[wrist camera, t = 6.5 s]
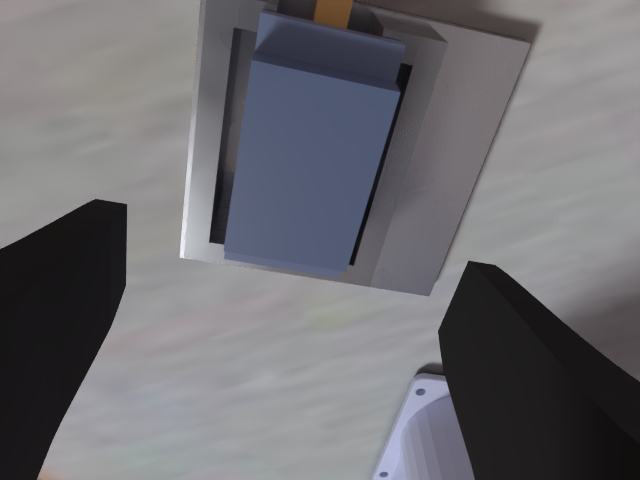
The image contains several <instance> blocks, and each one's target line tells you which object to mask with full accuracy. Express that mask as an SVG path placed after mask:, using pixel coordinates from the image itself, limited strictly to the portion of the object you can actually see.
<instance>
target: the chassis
mask: <svg viewBox="0 0 640 480" xmlns="http://www.w3.org/2000/svg"><path fill="white" fill-rule="evenodd" d="M316 1H317V0H201V3H200V15H199V27H198V40H197V52H196V64H195V76H194V89H193V101H192V113H191V125H190V138H189V150H188V162H187V175H186V187H185V199H184V211H183V224H182V236H181V248H180V257H182V258H188V259H195V260H201V261H208V262H214V263H220V264H227V265H233V266H239V267H246V268H252V269H259V270H265V271H271V272H278V273H284V274H290V275H297V276H303V277H310V278H316V279H322V280H329V281H335V282H341V283H348V284H354V285H361V286H367V287H373V288H380V289H386V290H392V291H399V292H405V293H412V294H418V295H424V296H430V294H431V291H432V289H433V286H434V284H435V281H436V279H437V276H438V274H439V271H440V269H441V266H442V264H443V261H444V259H445V256H446V254H447V252H448V249H449V247H450V244H451V242H452V239H453V237H454V234H455V232H456V229H457V227H458V224H459V222H460V219H461V217H462V214H463V212H464V209H465V207H466V204H467V202H468V199H469V197H470V194H471V192H472V189H473V187H474V185H475V182H476V180H477V177H478V175H479V172H480V170H481V167H482V165H483V162H484V160H485V157H486V155H487V152H488V150H489V147H490V145H491V142H492V140H493V137H494V135H495V132H496V130H497V127H498V125H499V123H500V120H501V118H502V115H503V113H504V110H505V108H506V105H507V103H508V100H509V98H510V95H511V93H512V90H513V88H514V85H515V83H516V80H517V78H518V75H519V73H520V70H521V68H522V65H523V63H524V60H525V58H526V56H527V53H528V51H529V48H530V46H531V43H529V42H528V41H526V40H523V39H519V38H514V37H510V36H505V35H501V34H496V33H492V32H488V31H483V30H479V29H474V28H470V27H465V26H461V25H457V24H452V23H448V22H443V21H439V20H435V19H430V18H426V17H421V16H417V15H412V14H408V13H404V12H399V11H395V10H390V9H386V8H382V7H377V6H373V5H368V4H364V3H359V2H355V1H353V3H352V8H351V12H350V16H349V21H348V25H347V29H349V30H353V31H358V32H362V33H366V34H371V35H375V36H379V37H384V38H388V39H392V40H397V41H401V42H403V43H404V44H405V45H406V47H405V51H404V54H403V58H402V61H401V64H400V68H399V71H398V75H397V78H396V81H395V82H396V84H397V86H398V88H399V90H400V92H401V93H400V96H399V99H398V103H397V106H396V109H395V113H394V116H393V119H392V123H391V126H390V129H389V132H388V136H387V139H386V142H385V146H384V149H383V152H382V156H381V159H380V162H379V166H378V169H377V172H376V176H375V179H374V182H373V185H372V189H371V192H370V195H369V199H368V202H367V205H366V209H365V212H364V215H363V219H362V222H361V225H360V229H359V232H358V235H357V238H356V242H355V245H354V248H353V252H352V255H351V258H350V262H349V265H348V268H347V272H343V271H340V272H339V276H338V278H334V277H328V276H322V275H316V274H310V273H304V272H298V271H292V270H286V269H280V268H274V267H268V266H262V265H256V264H250V263H244V262H238V261H233V260H227V259H224V255H225V251H223V250H224V244H225V237H226V230H227V223H228V216H229V210H230V203H231V196H232V189H233V182H234V175H235V169H236V162H237V155H238V148H239V141H240V134H241V128H242V121H243V114H244V107H245V100H246V94H247V87H248V80H249V73H250V66H251V60H252V57H253V54H254V52H255V46H256V39H257V33H258V26H259V19H260V12H261V10H267V11H271V12H275V13H280V14H284V15H288V16H293V17H297V18H301V19H306V20H310V21H313V16H314V11H315V6H316Z"/></svg>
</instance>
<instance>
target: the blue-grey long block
mask: <svg viewBox="0 0 640 480" xmlns="http://www.w3.org/2000/svg"><path fill="white" fill-rule="evenodd" d="M352 3H353V0H317V1H316V6H315V11H314V16H313V21H310V20H306V19H301V18H297V17H293V16H288V15H284V14H280V13H275V12H271V11H267V10H261V12H260V19H259V26H258V33H257V39H256V46H255V52H254V54H253V57H252V60H251V66H250V73H249V80H248V87H247V94H246V100H245V107H244V114H243V121H242V128H241V134H240V141H239V148H238V155H237V162H236V169H235V175H234V182H233V189H232V196H231V203H230V210H229V216H228V223H227V230H226V237H225V244H224V250H223V251H225V255H224V259H227V260H233V261H238V262H244V263H250V264H256V265H262V266H268V267H274V268H280V269H286V270H292V271H298V272H304V273H310V274H316V275H322V276H328V277H334V278H338V276H339V272H340V271H343V272H347V268H348V265H349V262H350V258H351V255H352V252H353V248H354V245H355V242H356V238H357V235H358V232H359V229H360V225H361V222H362V219H363V215H364V212H365V209H366V205H367V202H368V199H369V195H370V192H371V189H372V185H373V182H374V179H375V176H376V172H377V169H378V166H379V162H380V159H381V156H382V152H383V149H384V146H385V142H386V139H387V136H388V132H389V129H390V126H391V123H392V119H393V116H394V113H395V109H396V106H397V103H398V99H399V96H400V93H401V92H400V90H399V88H398V86H397V84H396V82H395V81H396V78H397V75H398V71H399V68H400V64H401V61H402V58H403V54H404V51H405V47H406V45H405V44H404V43H403V42H401V41H397V40H392V39H388V38H384V37H379V36H375V35H371V34H366V33H362V32H358V31H353V30H349V29H347V25H348V21H349V16H350V12H351V8H352Z"/></svg>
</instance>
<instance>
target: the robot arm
mask: <svg viewBox="0 0 640 480" xmlns="http://www.w3.org/2000/svg"><path fill="white" fill-rule="evenodd" d="M126 241H127V204H123V203H116V202H110V201H104V200H98V199H95V200H93V201H90V202H88V203H86V204H84V205H83V206H81V207H79V208H77V209H75V210H73V211H72V212H70V213H68V214H66V215H64V216H63V217H61V218H59V219H57V220H55V221H54V222H52V223H50V224H48V225H46V226H44V227H43V228H41V229H39V230H37V231H35V232H33V233H31V234H30V235H28V236H26V237H24V238H22V239H20V240H18V241H16V242H14V243H12V244H10V245H8V246H6V247H4V248H2V249H0V480H37V478H38V475H39V473H40V470H41V468H42V465H43V463H44V460H45V458H46V455H47V453H48V450H49V448H50V445H51V443H52V440H53V438H54V436H55V434H56V432H57V430H58V428H59V426H60V423H61V421H62V419H63V417H64V415H65V414H66V412H67V410H68V408H69V406H70V404H71V402H72V400H73V398H74V397H75V395H76V393H77V391H78V389H79V387H80V385H81V383H82V381H83V380H84V378H85V376H86V374H87V372H88V370H89V368H90V366H91V364H92V363H93V361H94V359H95V357H96V355H97V353H98V351H99V349H100V347H101V345H102V343H103V341H104V339H105V338H106V336H107V334H108V332H109V330H110V328H111V325H112V323H113V320H114V317H115V315H116V312H117V309H118V307H119V304H120V301H121V298H122V295H123V292H124V289H125V286H126ZM438 334H439V342H440V350H441V357H442V364H443V370H444V374H445V376H442V375H434V374H427V373H421V374H418V375H416V376H415V377H414V378H413V380H412V382H411V385H410V387H409V389H408V392H407V394H406V397H405V399H404V401H403V404H402V406H401V408H400V411H399V413H398V415H397V418H396V420H395V422H394V425H393V427H392V429H391V432H390V434H389V436H388V439H387V441H386V443H385V446H384V448H383V450H382V453H381V455H380V457H379V460H378V462H377V464H376V467H375V469H374V471H373V474H372V476H371V479H370V480H640V382H639V381H638V380H636V379H635V378H633V377H632V376H630V375H629V374H628V373H626V372H625V371H624V370H622V369H621V368H620V367H618V366H617V365H616V364H614V363H613V362H612V361H610V360H609V359H608V358H607V357H605V356H604V355H603V354H602V353H600V352H599V351H598V350H596V349H595V348H594V347H593V346H591V345H590V344H589V343H588V342H586V341H585V340H584V339H583V338H582V337H580V336H579V335H578V334H577V333H575V332H574V331H573V330H572V329H571V328H570V327H568V326H567V325H566V324H565V323H564V322H562V321H561V320H560V319H559V318H558V317H557V316H556V315H554V314H553V313H552V312H551V311H550V310H549V309H547V308H546V307H545V306H544V305H543V304H542V303H541V302H539V301H538V300H537V299H536V298H535V297H534V296H533V295H531V294H530V293H529V292H528V291H527V290H526V289H525V288H523V287H522V286H521V285H520V284H519V283H518V282H516V281H515V280H514V279H513V278H512V277H510V276H509V275H508V274H507V273H505V272H504V271H503V270H501V269H500V268H499V267H497V266H496V265H491V264H485V263H479V262H473V261H468V263H467V266H466V268H465V270H464V272H463V275H462V277H461V279H460V282H459V284H458V286H457V289H456V291H455V293H454V296H453V298H452V300H451V303H450V305H449V307H448V309H447V312H446V314H445V316H444V319H443V321H442V323H441V326H440V328H439V330H438ZM418 389H421V390H418Z"/></svg>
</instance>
